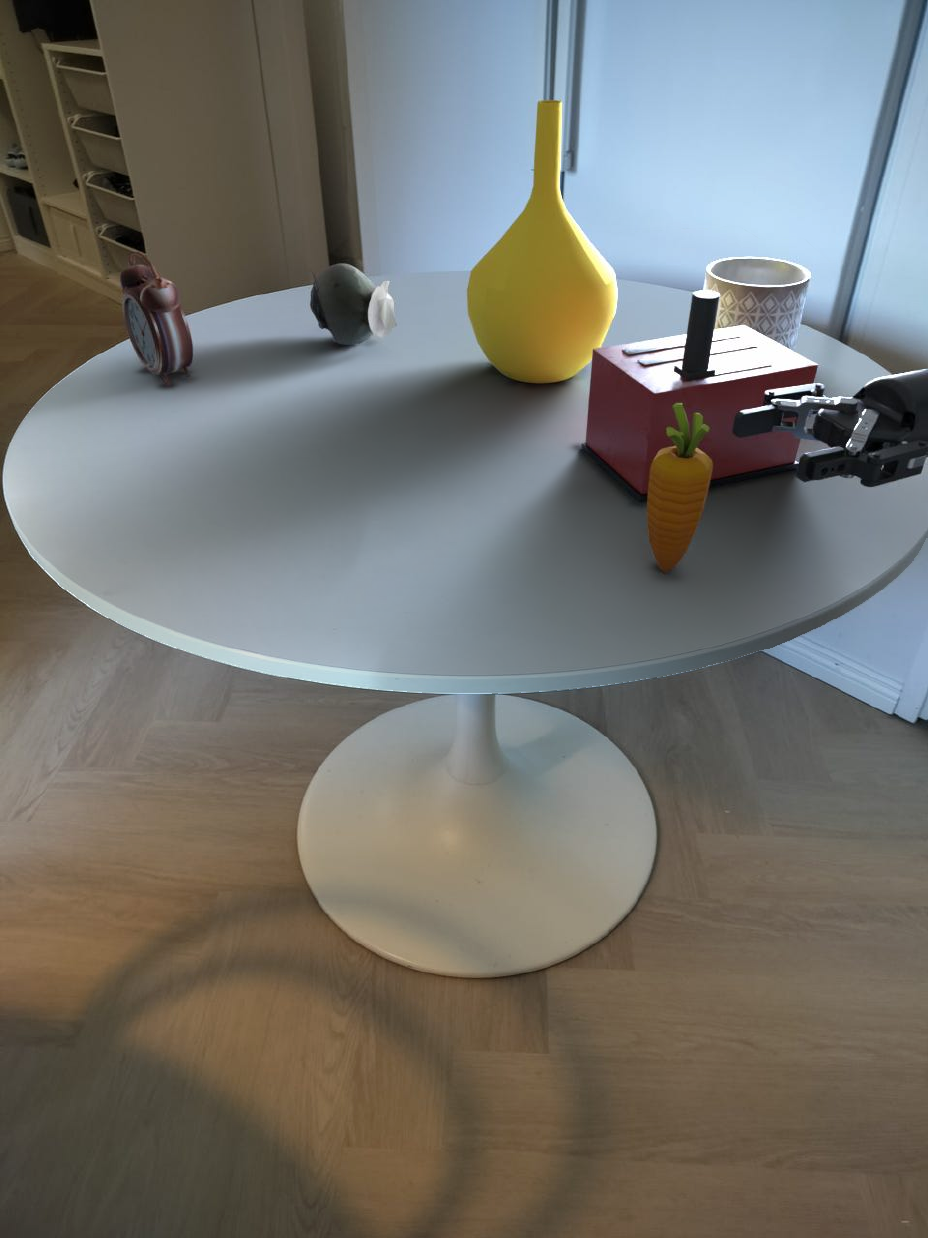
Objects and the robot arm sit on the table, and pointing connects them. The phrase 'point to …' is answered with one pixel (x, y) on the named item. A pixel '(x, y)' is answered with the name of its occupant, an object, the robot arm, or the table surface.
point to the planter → (760, 296)
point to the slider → (699, 336)
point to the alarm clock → (155, 319)
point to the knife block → (689, 405)
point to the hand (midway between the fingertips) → (766, 445)
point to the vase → (542, 280)
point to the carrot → (677, 491)
